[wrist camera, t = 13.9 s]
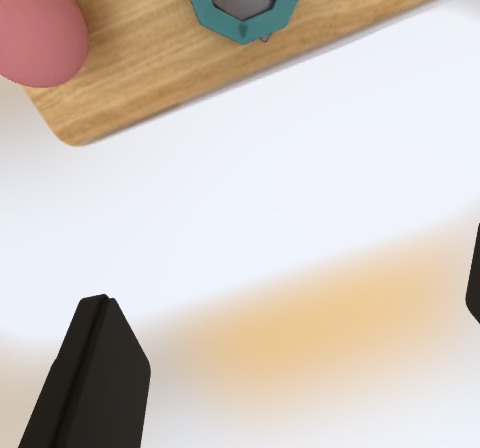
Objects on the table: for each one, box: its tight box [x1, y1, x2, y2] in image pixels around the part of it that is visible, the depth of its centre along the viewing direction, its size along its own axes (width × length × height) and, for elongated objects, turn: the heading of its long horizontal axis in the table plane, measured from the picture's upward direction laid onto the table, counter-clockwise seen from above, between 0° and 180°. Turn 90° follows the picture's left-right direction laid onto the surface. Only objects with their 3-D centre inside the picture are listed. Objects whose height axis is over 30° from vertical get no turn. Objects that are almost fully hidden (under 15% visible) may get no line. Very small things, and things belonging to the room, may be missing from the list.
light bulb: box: [0, 0, 89, 88], centre depth 27 cm, size 7×7×12 cm
